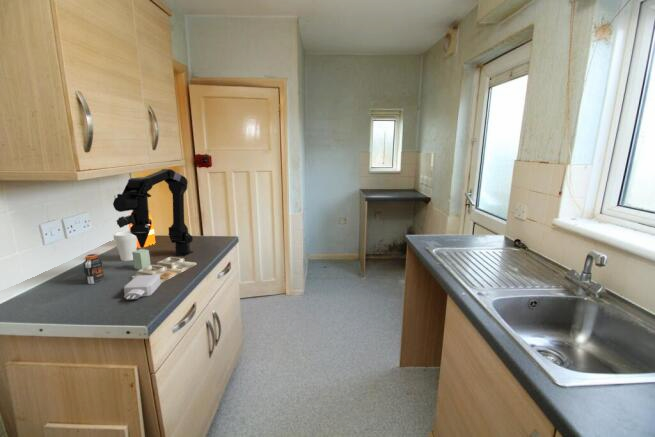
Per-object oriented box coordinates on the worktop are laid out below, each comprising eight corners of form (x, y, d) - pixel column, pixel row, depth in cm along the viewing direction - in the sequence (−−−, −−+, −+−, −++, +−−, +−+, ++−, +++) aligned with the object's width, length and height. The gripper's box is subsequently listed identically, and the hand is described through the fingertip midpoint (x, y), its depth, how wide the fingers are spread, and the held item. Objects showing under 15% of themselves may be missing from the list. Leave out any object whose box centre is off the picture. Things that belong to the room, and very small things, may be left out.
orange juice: (155, 243, 172) (151, 209, 168) (141, 248, 165) (136, 212, 160) (146, 241, 176) (142, 207, 171) (131, 246, 168) (126, 210, 163)
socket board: (170, 260, 147) (169, 255, 146) (196, 264, 143) (196, 258, 142) (131, 278, 127) (131, 272, 126) (161, 283, 123) (160, 276, 122)
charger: (116, 306, 106) (136, 286, 120) (144, 304, 107) (161, 285, 121) (114, 293, 105) (134, 275, 119) (142, 292, 106) (159, 274, 120)
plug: (143, 265, 141) (140, 248, 139) (150, 266, 140) (148, 249, 138) (134, 268, 137) (132, 252, 135) (142, 270, 136) (140, 253, 134)
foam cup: (132, 254, 155) (129, 229, 152) (144, 257, 152) (141, 231, 149) (113, 260, 147) (108, 234, 144) (124, 263, 143) (120, 236, 140)
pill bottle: (95, 285, 121) (90, 258, 118) (82, 283, 122) (77, 257, 119) (108, 278, 126) (104, 253, 124) (96, 277, 128) (91, 252, 125)
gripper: (121, 206, 132) (124, 241, 134) (112, 212, 115) (116, 252, 118) (150, 205, 137) (153, 239, 139) (147, 211, 120) (149, 249, 122)
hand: (143, 245), depth 129 cm, fingers open, 9 cm apart
